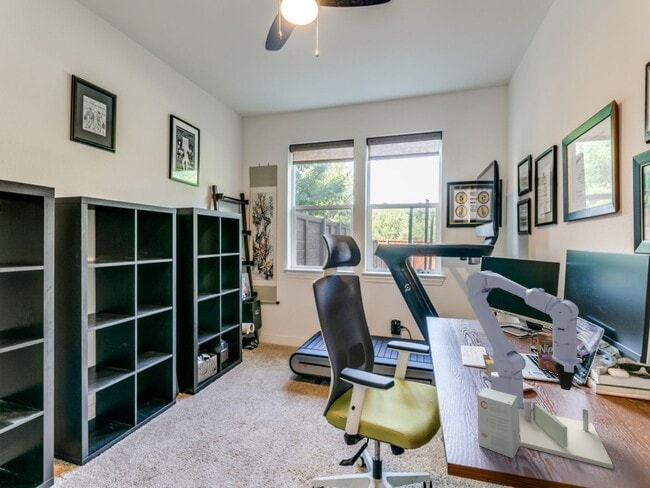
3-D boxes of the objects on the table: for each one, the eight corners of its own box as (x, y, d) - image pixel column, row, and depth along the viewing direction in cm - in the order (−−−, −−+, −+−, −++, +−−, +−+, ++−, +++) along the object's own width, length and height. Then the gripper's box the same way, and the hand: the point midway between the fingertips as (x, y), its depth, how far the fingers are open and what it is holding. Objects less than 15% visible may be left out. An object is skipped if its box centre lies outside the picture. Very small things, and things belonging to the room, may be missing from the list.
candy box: (537, 368, 135) (536, 332, 136) (544, 367, 137) (544, 331, 137) (558, 376, 127) (557, 337, 127) (566, 375, 128) (565, 336, 128)
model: (488, 382, 123) (488, 361, 123) (480, 371, 134) (480, 353, 134) (497, 382, 122) (497, 362, 123) (489, 372, 133) (489, 353, 133)
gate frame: (521, 445, 82) (520, 420, 82) (518, 411, 100) (517, 390, 100) (613, 469, 73) (612, 440, 74) (592, 426, 91) (591, 403, 91)
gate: (532, 419, 92) (532, 401, 92) (536, 419, 92) (535, 402, 92) (563, 447, 79) (562, 427, 79) (567, 447, 79) (567, 427, 79)
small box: (519, 447, 82) (518, 396, 82) (513, 459, 77) (512, 404, 77) (485, 435, 87) (484, 386, 87) (477, 445, 83) (477, 394, 83)
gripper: (587, 351, 86) (588, 402, 86) (576, 338, 99) (577, 382, 98) (555, 347, 89) (556, 396, 89) (549, 335, 102) (549, 378, 102)
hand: (565, 389), depth 94 cm, fingers closed
